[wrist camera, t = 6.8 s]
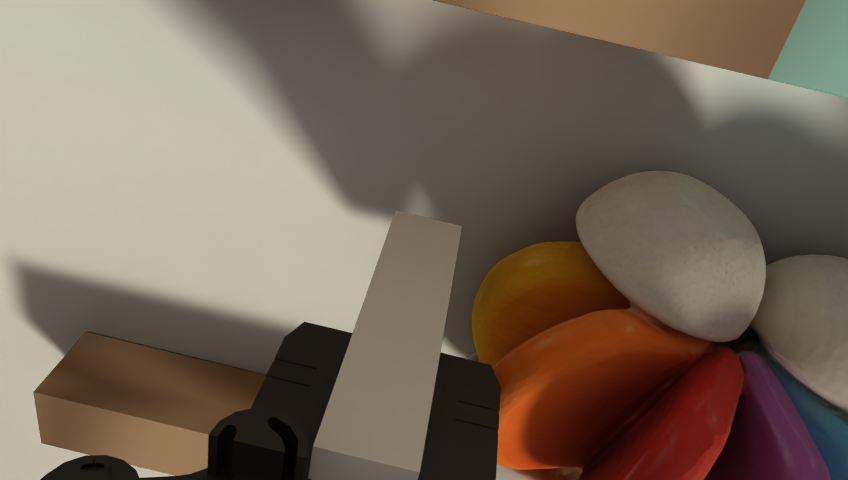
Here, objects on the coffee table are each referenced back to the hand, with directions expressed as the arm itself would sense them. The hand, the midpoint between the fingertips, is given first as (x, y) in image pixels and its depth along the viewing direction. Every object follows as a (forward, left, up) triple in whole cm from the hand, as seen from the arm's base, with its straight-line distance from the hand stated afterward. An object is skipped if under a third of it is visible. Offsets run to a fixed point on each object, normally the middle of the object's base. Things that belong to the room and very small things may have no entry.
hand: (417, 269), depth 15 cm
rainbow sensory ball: (+6, -1, -2) cm, 7 cm away
